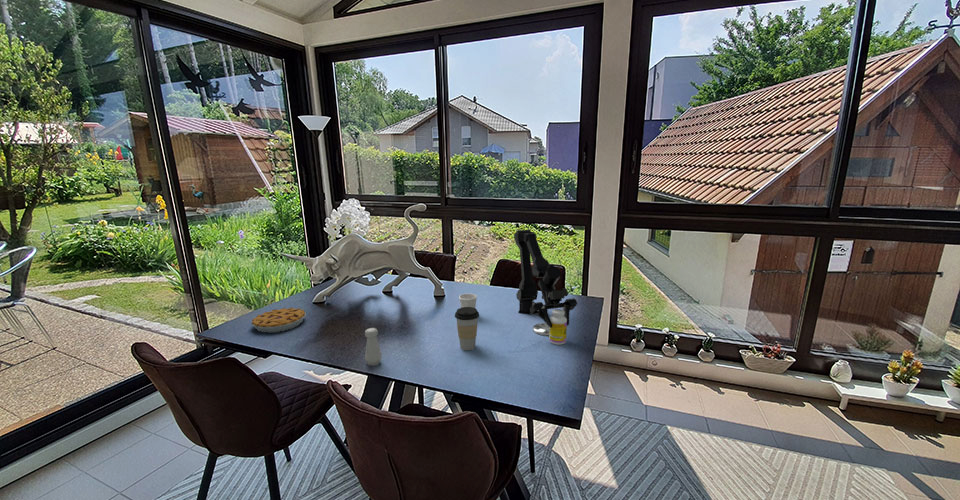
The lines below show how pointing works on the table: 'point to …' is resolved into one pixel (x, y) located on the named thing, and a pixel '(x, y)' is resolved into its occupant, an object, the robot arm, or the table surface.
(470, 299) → the dixie cup
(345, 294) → the table surface
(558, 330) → the supplement bottle
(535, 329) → the rosette plate
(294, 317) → the pie
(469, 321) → the coffee cup
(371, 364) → the salt shaker
